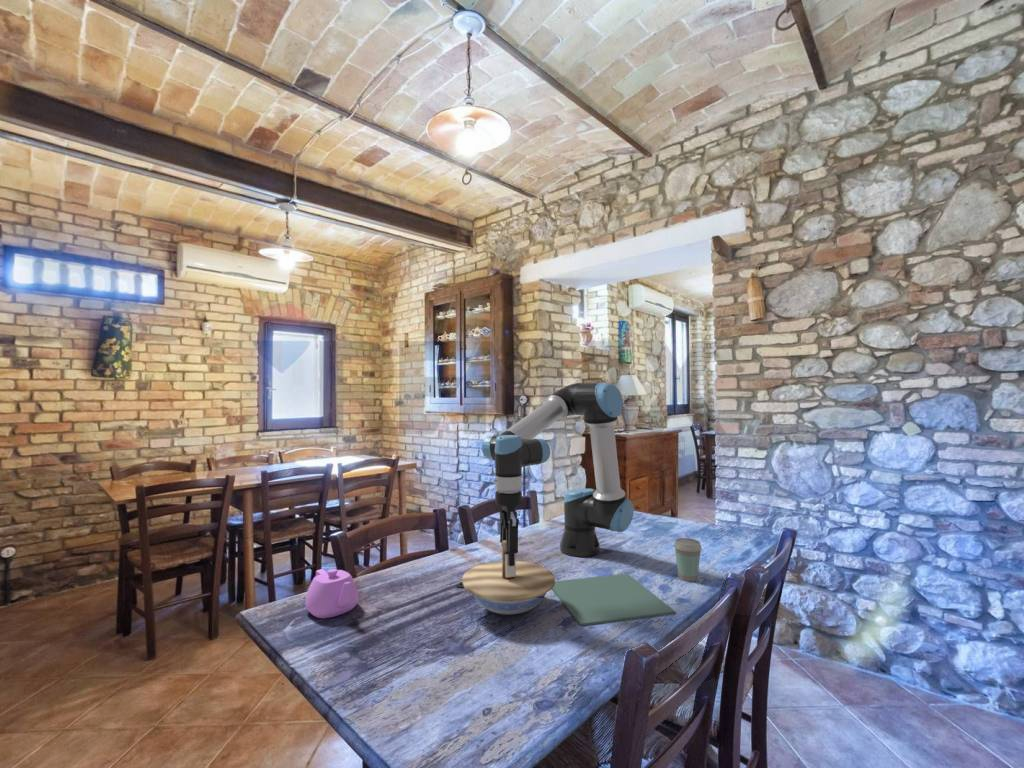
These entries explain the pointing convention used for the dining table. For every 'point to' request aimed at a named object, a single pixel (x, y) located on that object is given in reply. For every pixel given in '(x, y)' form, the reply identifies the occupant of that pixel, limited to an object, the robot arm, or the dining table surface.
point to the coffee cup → (687, 558)
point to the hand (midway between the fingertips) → (508, 573)
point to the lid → (508, 580)
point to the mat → (608, 599)
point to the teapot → (331, 593)
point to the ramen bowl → (507, 604)
